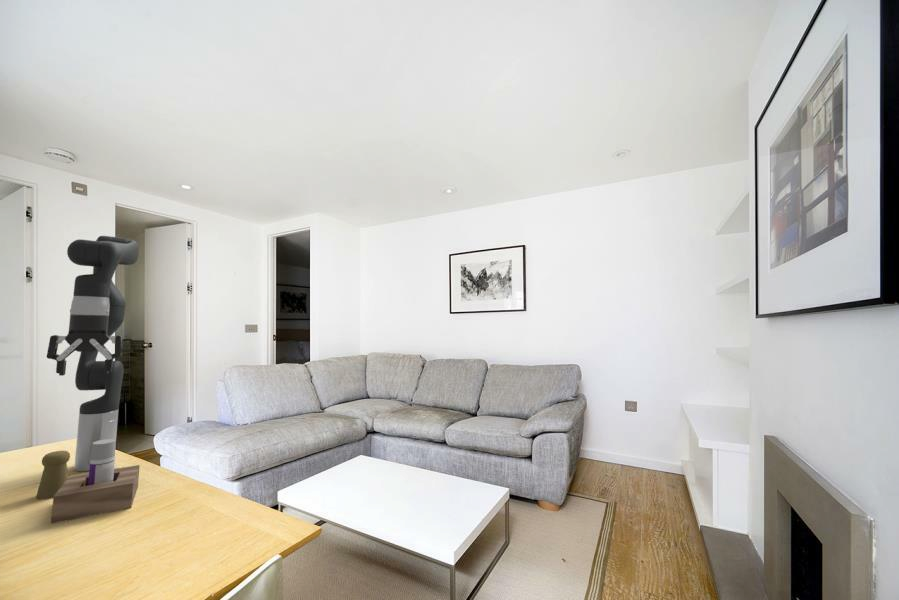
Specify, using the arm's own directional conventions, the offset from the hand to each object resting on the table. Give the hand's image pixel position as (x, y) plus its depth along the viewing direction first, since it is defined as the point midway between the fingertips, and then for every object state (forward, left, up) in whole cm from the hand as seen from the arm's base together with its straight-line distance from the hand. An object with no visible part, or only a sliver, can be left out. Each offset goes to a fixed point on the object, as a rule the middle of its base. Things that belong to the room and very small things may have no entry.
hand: (84, 374), depth 98 cm
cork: (-6, -5, -32) cm, 33 cm away
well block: (+7, +6, -32) cm, 33 cm away
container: (+7, +6, -32) cm, 33 cm away
